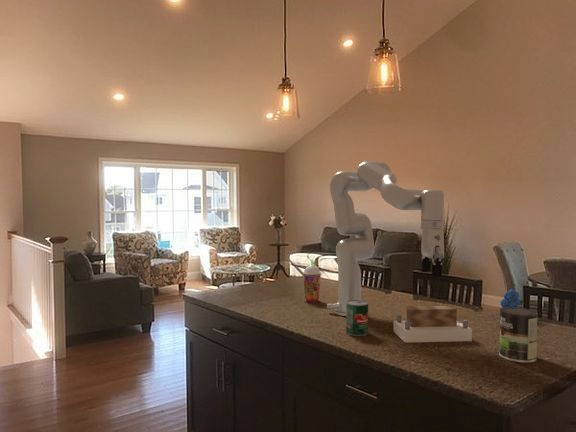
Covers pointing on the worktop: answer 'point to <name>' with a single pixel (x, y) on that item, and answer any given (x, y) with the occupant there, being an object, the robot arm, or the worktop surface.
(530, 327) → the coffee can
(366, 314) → the canned tomato
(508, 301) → the grapes
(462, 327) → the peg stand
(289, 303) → the worktop surface
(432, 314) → the brown wooden block
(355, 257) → the robot arm
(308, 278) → the smoothie
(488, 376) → the worktop surface
